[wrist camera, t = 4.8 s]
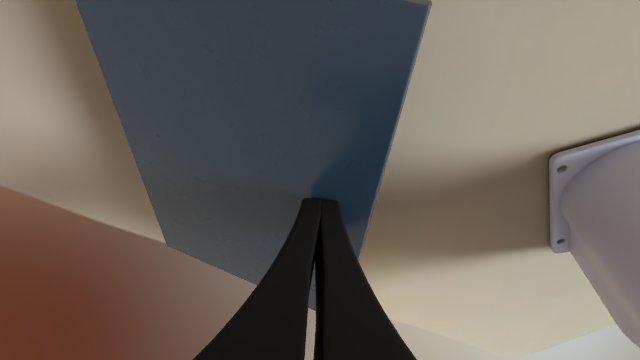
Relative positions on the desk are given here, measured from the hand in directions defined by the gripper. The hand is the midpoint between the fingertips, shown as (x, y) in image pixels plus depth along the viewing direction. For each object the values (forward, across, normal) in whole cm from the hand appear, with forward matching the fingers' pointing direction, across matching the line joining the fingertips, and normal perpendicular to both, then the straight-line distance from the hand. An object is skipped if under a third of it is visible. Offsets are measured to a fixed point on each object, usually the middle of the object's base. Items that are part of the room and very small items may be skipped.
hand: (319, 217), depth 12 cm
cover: (+2, +3, 0) cm, 4 cm away
